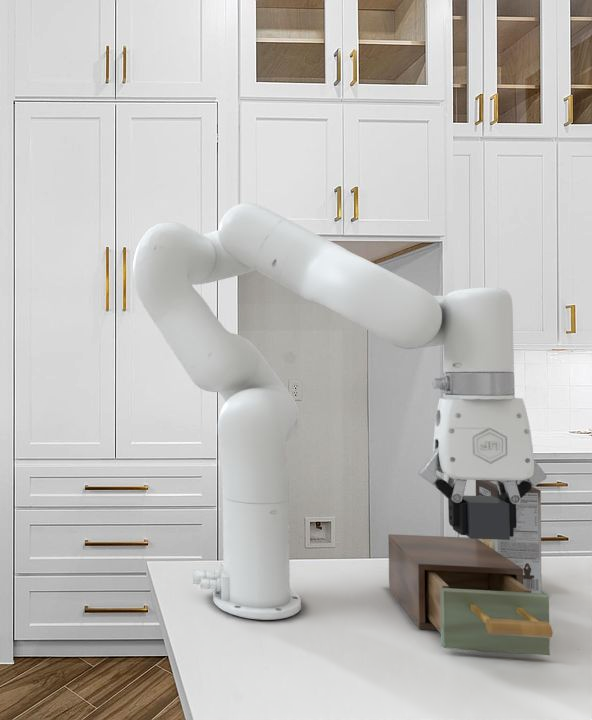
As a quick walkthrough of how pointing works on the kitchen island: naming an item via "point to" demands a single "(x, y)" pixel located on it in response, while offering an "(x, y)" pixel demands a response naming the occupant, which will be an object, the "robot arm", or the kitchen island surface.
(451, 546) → the cabinet
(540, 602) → the drawer
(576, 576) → the kitchen island surface
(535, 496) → the coffee box
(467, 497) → the block
